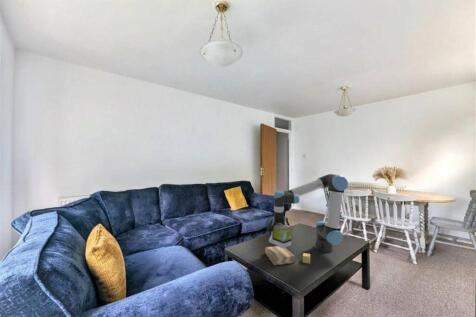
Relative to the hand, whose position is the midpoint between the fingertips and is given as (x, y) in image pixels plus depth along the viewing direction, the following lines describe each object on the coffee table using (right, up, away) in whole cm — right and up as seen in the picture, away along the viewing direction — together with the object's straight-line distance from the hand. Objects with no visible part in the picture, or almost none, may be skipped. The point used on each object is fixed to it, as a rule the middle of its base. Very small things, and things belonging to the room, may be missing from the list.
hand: (279, 239), depth 161 cm
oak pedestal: (0, -15, 0) cm, 15 cm away
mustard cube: (+20, -15, -6) cm, 25 cm away
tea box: (+1, -4, -1) cm, 4 cm away
